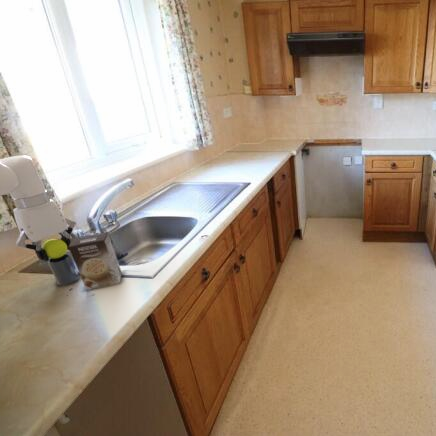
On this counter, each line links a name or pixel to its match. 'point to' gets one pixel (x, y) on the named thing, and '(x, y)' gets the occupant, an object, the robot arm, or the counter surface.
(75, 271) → the tumbler
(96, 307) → the counter surface
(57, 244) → the ball
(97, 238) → the coffee box
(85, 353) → the counter surface
